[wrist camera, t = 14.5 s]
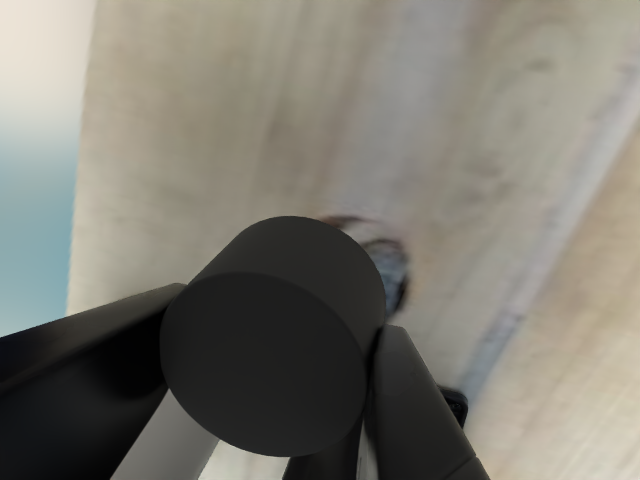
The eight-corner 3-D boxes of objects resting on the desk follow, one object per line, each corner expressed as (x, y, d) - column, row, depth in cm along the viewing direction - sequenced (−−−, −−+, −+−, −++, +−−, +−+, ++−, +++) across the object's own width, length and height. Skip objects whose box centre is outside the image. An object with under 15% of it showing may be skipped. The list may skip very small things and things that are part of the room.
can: (151, 257, 22) (-140, 484, 11) (279, 370, 22) (126, 687, 12) (75, 350, 25) (-208, 597, 14) (189, 447, 26) (4, 750, 15)
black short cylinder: (218, 349, 11) (161, 431, 9) (218, 201, 10) (150, 253, 8) (374, 384, 11) (354, 480, 8) (398, 231, 9) (383, 297, 7)
